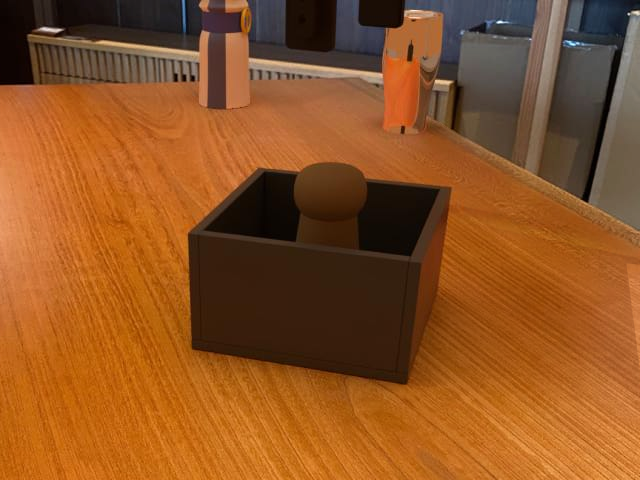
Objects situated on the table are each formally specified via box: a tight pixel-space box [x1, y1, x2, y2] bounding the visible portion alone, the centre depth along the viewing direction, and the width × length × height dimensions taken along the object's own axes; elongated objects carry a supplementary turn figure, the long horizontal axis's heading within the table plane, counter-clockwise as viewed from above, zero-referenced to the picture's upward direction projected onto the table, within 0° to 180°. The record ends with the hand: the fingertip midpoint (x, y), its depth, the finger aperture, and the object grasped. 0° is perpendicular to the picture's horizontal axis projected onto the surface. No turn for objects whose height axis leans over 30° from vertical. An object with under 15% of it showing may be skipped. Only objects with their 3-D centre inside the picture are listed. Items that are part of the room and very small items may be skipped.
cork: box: [294, 161, 367, 250], centre depth 62 cm, size 6×6×11 cm
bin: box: [187, 167, 453, 385], centre depth 63 cm, size 16×16×9 cm
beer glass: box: [381, 9, 444, 135], centre depth 104 cm, size 7×7×15 cm
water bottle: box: [198, 0, 252, 110], centre depth 119 cm, size 8×9×25 cm
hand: (347, 37), depth 54 cm, fingers open, 9 cm apart
